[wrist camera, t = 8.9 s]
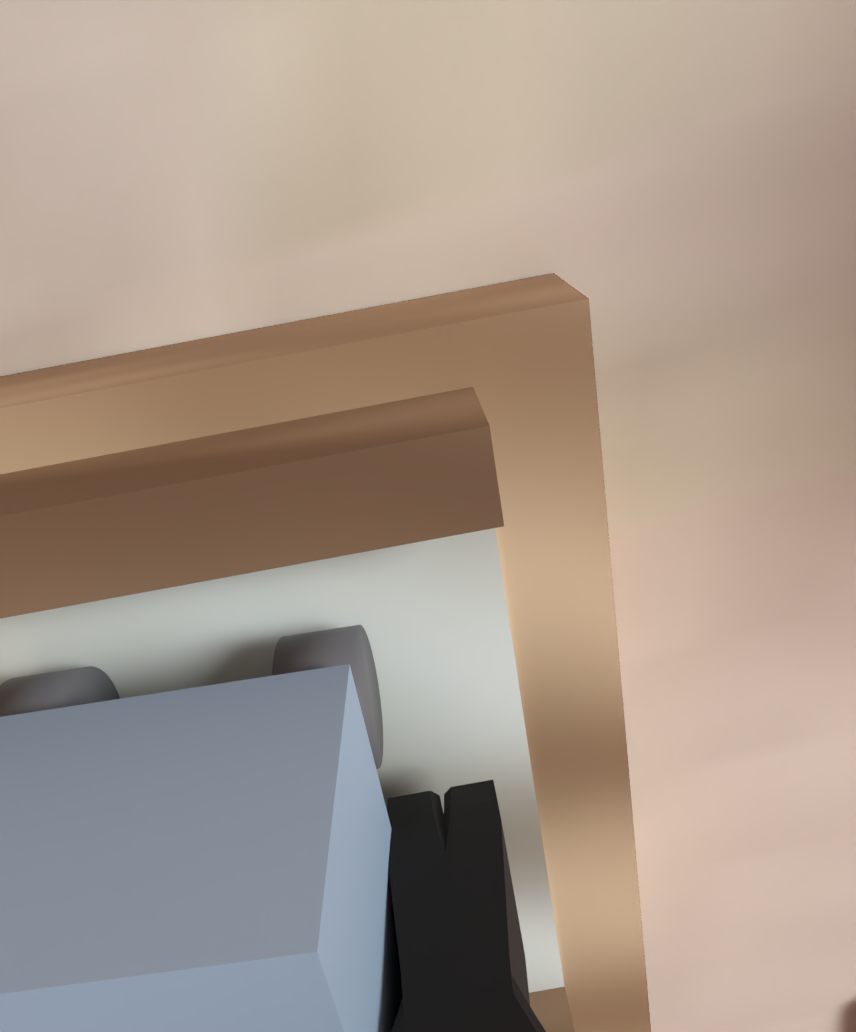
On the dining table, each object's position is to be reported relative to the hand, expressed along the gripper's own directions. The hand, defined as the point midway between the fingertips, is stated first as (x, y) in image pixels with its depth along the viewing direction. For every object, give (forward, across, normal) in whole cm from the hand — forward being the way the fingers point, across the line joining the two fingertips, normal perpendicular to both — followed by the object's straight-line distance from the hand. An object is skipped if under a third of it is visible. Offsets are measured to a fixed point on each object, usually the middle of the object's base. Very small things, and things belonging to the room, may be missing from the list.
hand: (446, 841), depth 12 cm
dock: (+3, +3, 0) cm, 4 cm away
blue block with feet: (+1, +3, 0) cm, 3 cm away
